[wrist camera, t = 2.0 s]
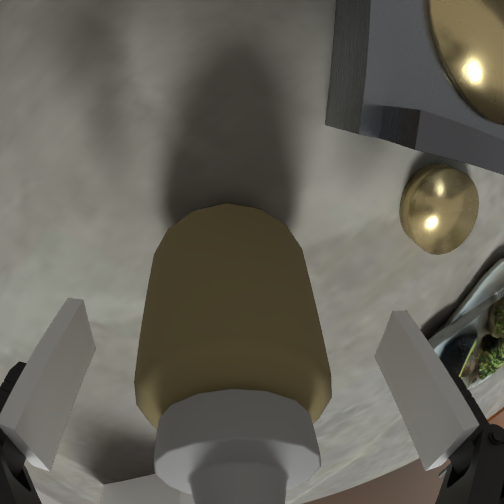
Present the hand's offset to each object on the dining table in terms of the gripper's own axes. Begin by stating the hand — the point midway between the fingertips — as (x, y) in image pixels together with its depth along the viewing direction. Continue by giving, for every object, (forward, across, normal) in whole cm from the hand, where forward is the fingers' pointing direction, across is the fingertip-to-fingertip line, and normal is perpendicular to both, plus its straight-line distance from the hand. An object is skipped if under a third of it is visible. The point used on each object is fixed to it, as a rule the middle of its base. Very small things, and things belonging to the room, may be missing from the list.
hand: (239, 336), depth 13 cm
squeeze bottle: (+8, 0, 0) cm, 8 cm away
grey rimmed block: (+8, +12, +16) cm, 22 cm away
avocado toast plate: (+9, +26, -8) cm, 29 cm away
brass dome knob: (+9, +14, +4) cm, 17 cm away
